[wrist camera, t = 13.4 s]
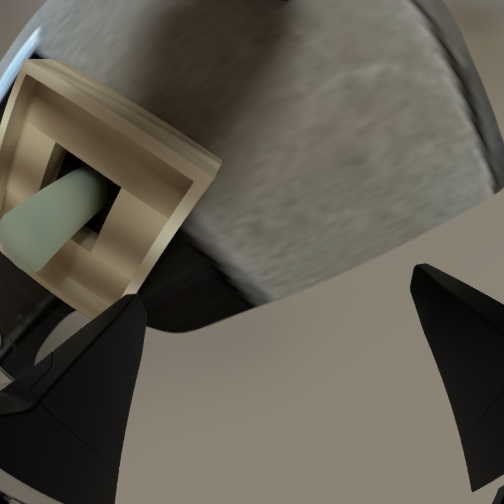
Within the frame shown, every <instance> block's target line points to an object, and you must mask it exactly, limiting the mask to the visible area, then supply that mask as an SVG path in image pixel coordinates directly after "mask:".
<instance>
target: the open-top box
mask: <svg viewBox="0 0 504 504" xmlns="http://www.w3.org/2000/svg"><path fill="white" fill-rule="evenodd" d="M67 150H68V151H69V152H71V153H72V154H74V155H75V156H77V157H78V158H79V159H81V160H82V161H84V162H85V163H87V164H88V165H90V166H91V167H92V168H94V169H95V170H97V171H98V172H100V173H101V174H103V175H104V176H106V177H107V178H108V179H110V180H111V181H113V182H114V183H116V184H117V185H119V186H120V187H122V188H121V190H120V192H119V194H118V196H117V198H116V200H115V202H114V204H113V206H112V208H111V210H110V212H109V214H108V216H107V218H106V221H105V223H104V225H103V227H102V229H101V231H100V234H99V235H98V234H97V233H95V232H94V231H92V230H91V229H89V228H88V227H87V226H85V225H83V226H82V227H81V228H80V229H79V230H78V231H77V232H76V233H75V234H74V235H73V236H72V237H71V238H70V239H69V240H68V241H67V242H66V243H65V244H64V245H63V246H62V247H61V248H60V249H59V250H58V251H57V252H56V253H55V254H54V256H53V257H52V258H51V259H50V260H49V261H48V262H47V263H46V264H45V265H44V266H43V267H42V268H41V270H39V271H38V272H35V273H29V272H26V273H27V274H28V275H29V276H31V277H32V278H33V279H34V280H36V281H37V282H38V283H40V284H41V285H42V286H44V287H45V288H46V289H48V290H49V291H50V292H52V293H53V294H54V295H56V296H57V297H59V298H60V299H61V300H63V301H64V302H66V303H67V304H69V305H70V306H71V307H73V308H74V309H76V310H77V311H79V312H80V313H82V314H83V315H85V316H86V317H88V318H89V319H91V320H93V319H94V318H95V317H97V316H98V315H99V314H101V313H102V312H103V311H105V310H106V309H107V308H108V307H110V306H111V305H112V304H114V303H115V302H116V301H118V300H119V299H120V298H122V297H123V296H124V295H126V294H136V293H137V291H138V290H139V288H140V286H141V285H142V283H143V282H144V280H145V279H146V277H147V275H148V274H149V272H150V271H151V269H152V268H153V266H154V264H155V263H156V261H157V260H158V258H159V257H160V255H161V254H162V252H163V251H164V249H165V248H166V246H167V245H168V243H169V242H170V240H171V239H172V237H173V236H174V234H175V233H176V231H177V230H178V229H179V227H180V226H181V224H182V223H183V221H184V220H185V218H186V217H187V216H188V214H189V213H190V211H191V210H192V208H193V207H194V206H195V204H196V203H197V202H198V200H199V199H200V197H201V196H202V195H203V193H204V192H205V190H206V189H207V188H208V186H209V185H210V184H211V182H212V181H213V180H214V178H215V176H216V174H217V172H218V170H219V168H220V166H221V164H222V162H223V161H222V160H221V159H219V158H218V157H216V156H215V155H213V154H212V153H211V152H209V151H208V150H206V149H205V148H203V147H202V146H200V145H199V144H197V143H196V142H195V141H193V140H192V139H190V138H189V137H187V136H186V135H184V134H183V133H181V132H180V131H178V130H177V129H175V128H174V127H172V126H171V125H169V124H168V123H166V122H164V121H163V120H161V119H160V118H158V117H157V116H155V115H154V114H152V113H150V112H149V111H147V110H146V109H144V108H143V107H141V106H139V105H138V104H136V103H135V102H133V101H131V100H130V99H128V98H126V97H125V96H123V95H122V94H120V93H118V92H117V91H115V90H113V89H112V88H110V87H108V86H107V85H105V84H103V83H101V82H100V81H98V80H96V79H95V78H93V77H91V76H89V75H88V74H86V73H84V72H82V71H81V70H79V69H77V68H75V67H73V66H72V65H70V64H68V63H66V62H64V61H62V60H54V59H25V60H24V63H23V65H22V67H21V69H20V72H19V74H18V77H17V79H16V81H15V84H14V87H13V89H12V92H11V95H10V97H9V100H8V103H7V106H6V109H5V112H4V115H3V118H2V122H1V125H0V221H1V219H2V217H3V216H4V215H5V214H6V213H8V212H9V211H10V210H12V209H13V208H15V207H16V206H17V205H19V204H20V203H22V202H23V201H25V200H26V199H28V198H29V197H31V196H32V195H34V194H35V193H37V192H39V191H40V190H42V189H43V188H45V187H47V186H48V185H50V184H52V183H53V182H55V181H56V179H57V176H58V173H59V171H60V168H61V165H62V163H63V160H64V157H65V155H66V152H67ZM0 251H1V252H2V253H3V254H4V255H5V256H6V257H8V256H7V254H6V252H5V250H4V248H3V246H2V243H1V240H0ZM8 258H9V257H8ZM24 272H25V271H24Z"/></svg>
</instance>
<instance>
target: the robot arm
mask: <svg viewBox="0 0 504 504" xmlns="http://www.w3.org/2000/svg"><path fill="white" fill-rule="evenodd" d="M410 291H411V295H412V298H413V301H414V304H415V307H416V310H417V313H418V316H419V319H420V322H421V325H422V328H423V331H424V334H425V336H426V338H427V341H428V343H429V346H430V348H431V351H432V353H433V356H434V358H435V361H436V364H437V366H438V369H439V372H440V375H441V377H442V380H443V383H444V386H445V388H446V392H447V394H448V398H449V400H450V404H451V407H452V410H453V414H454V417H455V421H456V424H457V428H458V431H459V435H460V437H461V443H462V447H463V451H464V456H465V460H466V465H467V469H468V474H469V479H470V485H471V490H472V492H474V491H476V490H478V489H480V488H481V487H483V486H485V485H487V484H489V483H490V482H492V481H494V480H495V479H497V478H499V477H500V476H502V475H503V474H504V304H501V303H500V302H498V301H497V300H495V299H493V298H491V297H489V296H488V295H486V294H484V293H482V292H480V291H479V290H477V289H475V288H473V287H471V286H469V285H467V284H465V283H464V282H462V281H460V280H458V279H456V278H454V277H452V276H450V275H448V274H446V273H444V272H442V271H441V270H439V269H437V268H435V267H433V266H430V265H429V264H426V263H425V264H418V265H416V266H415V267H414V269H413V275H412V280H411V284H410ZM146 323H147V313H146V310H145V308H144V306H143V303H142V301H141V299H140V297H139V295H138V294H126V295H124V296H123V297H122V298H120V299H119V300H118V301H116V302H115V303H114V304H112V305H111V306H110V307H108V308H107V309H106V310H105V311H103V312H102V313H101V314H99V315H98V316H97V317H95V318H94V319H93V320H92V321H90V322H89V323H88V324H87V325H85V326H84V327H83V328H81V329H80V330H79V331H78V332H76V333H75V334H74V335H73V336H71V337H70V338H69V339H67V340H66V341H65V342H64V343H63V344H61V345H60V346H59V347H58V348H56V349H55V350H54V352H51V353H50V354H49V355H48V356H46V357H45V358H44V359H43V360H41V361H40V362H39V363H37V364H36V365H35V366H34V367H32V368H31V369H30V370H28V371H27V372H26V373H24V374H23V375H21V376H20V377H19V378H17V379H16V380H14V381H13V382H12V383H10V384H9V385H8V386H6V387H5V388H4V389H2V390H1V391H0V504H115V496H116V489H117V481H118V474H119V466H120V460H121V453H122V447H123V442H124V436H125V431H126V426H127V420H128V415H129V410H130V406H131V401H132V396H133V392H134V387H135V383H136V379H137V374H138V370H139V366H140V361H141V357H142V351H143V343H144V337H145V330H146ZM492 504H504V485H503V486H502V487H500V488H499V489H498V492H497V494H496V496H495V498H494V501H493V503H492Z"/></svg>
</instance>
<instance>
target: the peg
mask: <svg viewBox="0 0 504 504" xmlns="http://www.w3.org/2000/svg"><path fill="white" fill-rule="evenodd" d="M108 196H109V188H108V184H107V181H106V179H105V177H104V176H103V174H101V173H100V172H98V171H97V170H95V169H94V168H92V167H91V166H82V167H79V168H78V169H76V170H74V171H72V172H70V173H69V174H67V175H65V176H63V177H62V178H60V179H58V180H57V181H55V182H53V183H52V184H50V185H48V186H47V187H45V188H43V189H42V190H40V191H39V192H37V193H35V194H34V195H32V196H31V197H29V198H28V199H26V200H25V201H23V202H22V203H20V204H19V205H17V206H16V207H15V208H13V209H12V210H10V211H9V212H8V213H6V214H5V215H4V216H3V217H2V219H1V221H0V240H1V243H2V246H3V248H4V250H5V252H6V254H7V256H8V257H9V259H10V260H11V261H12V262H13V263H14V264H15V265H16V266H17V267H18V268H20V269H21V270H23V271H25V272H29V273H35V272H38V271H39V270H41V268H42V267H43V266H44V265H45V264H46V263H47V262H48V261H49V260H50V259H51V258H52V257H53V256H54V254H55V253H56V252H57V251H58V250H59V249H60V248H61V247H62V246H63V245H64V244H65V243H66V242H67V241H68V240H69V239H70V238H71V237H72V236H73V235H74V234H75V233H76V232H77V231H78V230H79V229H80V228H81V227H82V226H83V225H85V224H86V223H87V222H88V221H89V220H90V219H91V218H92V217H93V216H94V215H95V214H96V213H97V212H99V211H100V210H101V209H102V208H103V207H104V206H105V204H106V203H107V200H108Z"/></svg>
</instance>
